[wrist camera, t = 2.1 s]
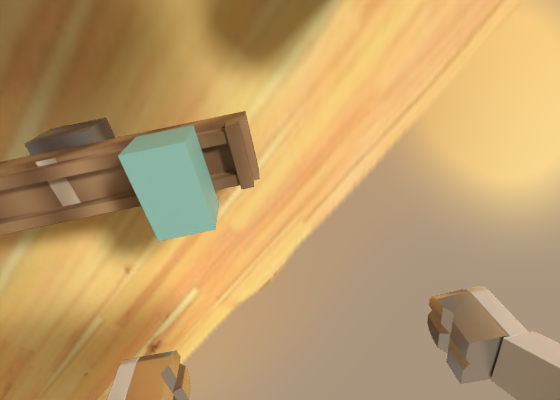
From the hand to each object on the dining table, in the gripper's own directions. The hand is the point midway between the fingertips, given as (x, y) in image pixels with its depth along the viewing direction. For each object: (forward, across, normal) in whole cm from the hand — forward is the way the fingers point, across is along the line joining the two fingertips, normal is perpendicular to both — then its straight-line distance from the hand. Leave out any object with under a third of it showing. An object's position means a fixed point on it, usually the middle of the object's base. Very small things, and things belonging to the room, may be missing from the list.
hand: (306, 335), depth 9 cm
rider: (+17, +7, 0) cm, 18 cm away
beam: (+23, +16, 0) cm, 28 cm away
